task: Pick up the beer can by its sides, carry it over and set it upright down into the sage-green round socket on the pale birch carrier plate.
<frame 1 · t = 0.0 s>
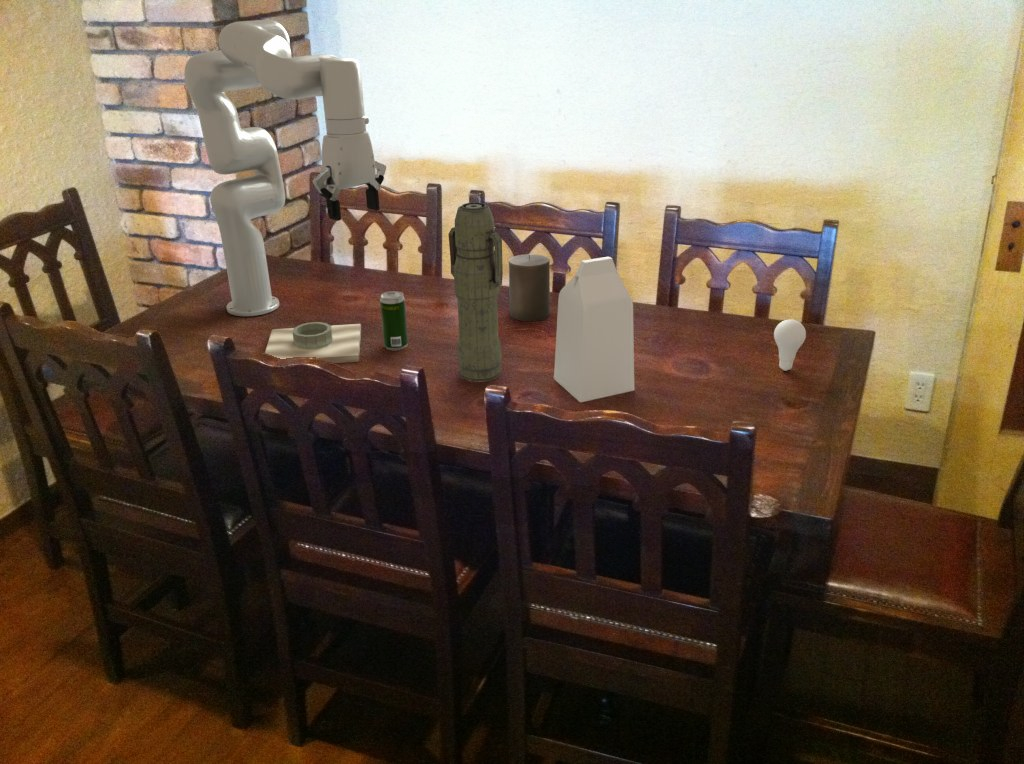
hand: (354, 214, 173), 31 cm above the table, tool pointing down, fingers open, 9 cm apart
pillar candle: (529, 315, 208), on the table
milk: (593, 385, 173), on the table
thermos: (479, 373, 178), on the table
beer can: (396, 347, 192), on the table
carrier plate: (314, 347, 191), on the table
lightbulb: (784, 371, 177), on the table
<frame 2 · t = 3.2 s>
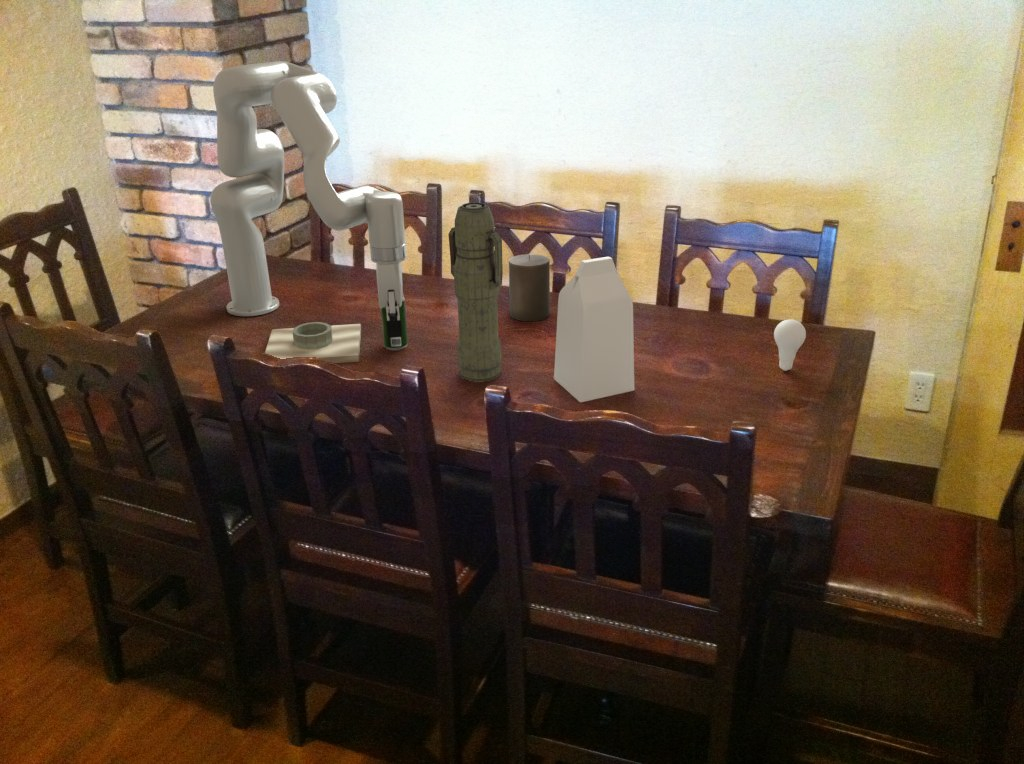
hand: (394, 330, 190), 4 cm above the table, tool pointing down, fingers closed on beer can, 5 cm apart
beer can: (396, 346, 192), on the table, touching gripper
everything else where it was.
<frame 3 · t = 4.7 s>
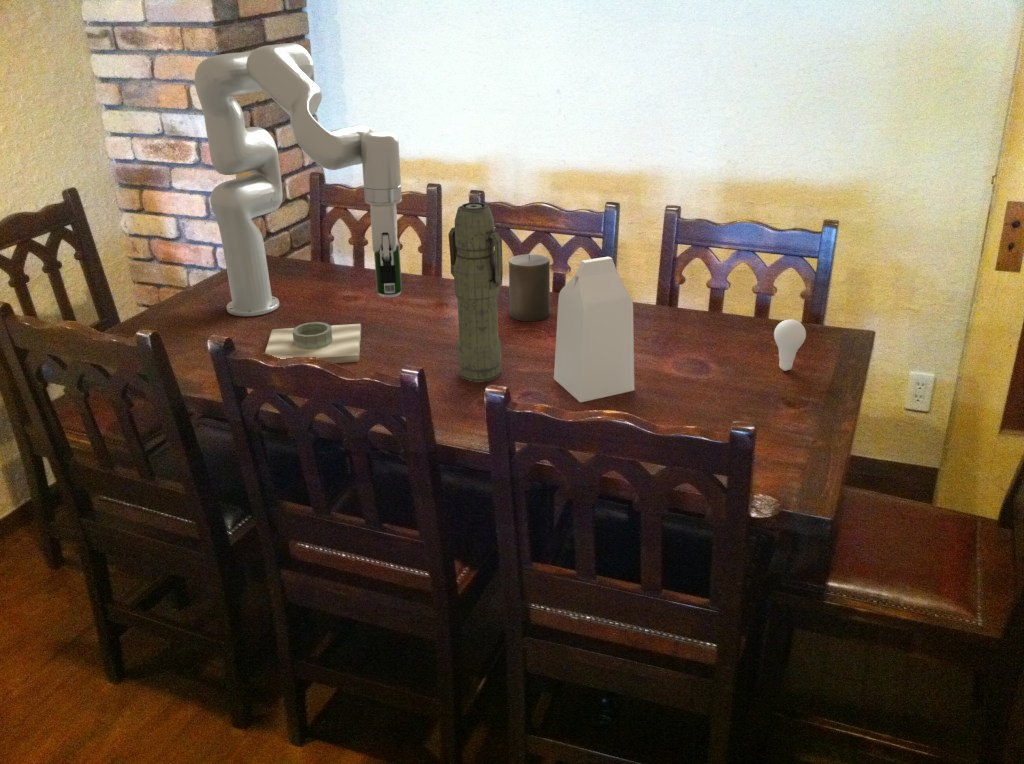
hand: (388, 277, 185), 16 cm above the table, tool pointing down, fingers closed on beer can, 5 cm apart
beer can: (389, 294, 187), point 12 cm above the table, touching gripper
everything else where it was.
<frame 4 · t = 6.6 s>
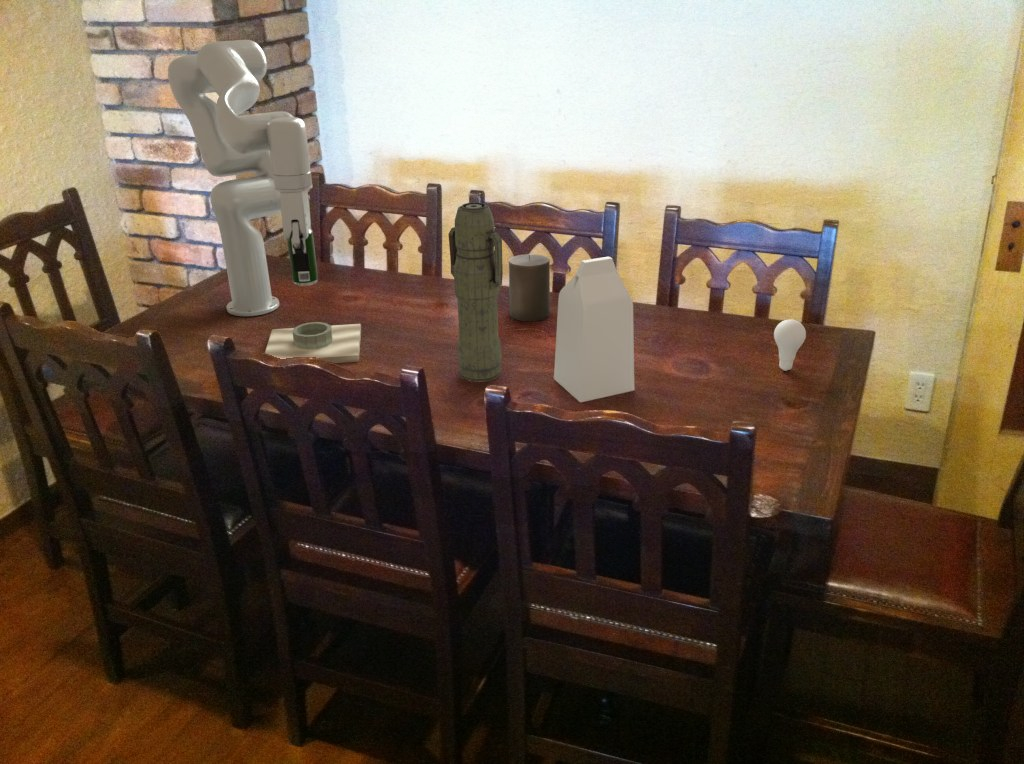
hand: (303, 265, 183), 19 cm above the table, tool pointing down, fingers closed on beer can, 5 cm apart
beer can: (305, 283, 185), point 15 cm above the table, touching gripper
everything else where it was.
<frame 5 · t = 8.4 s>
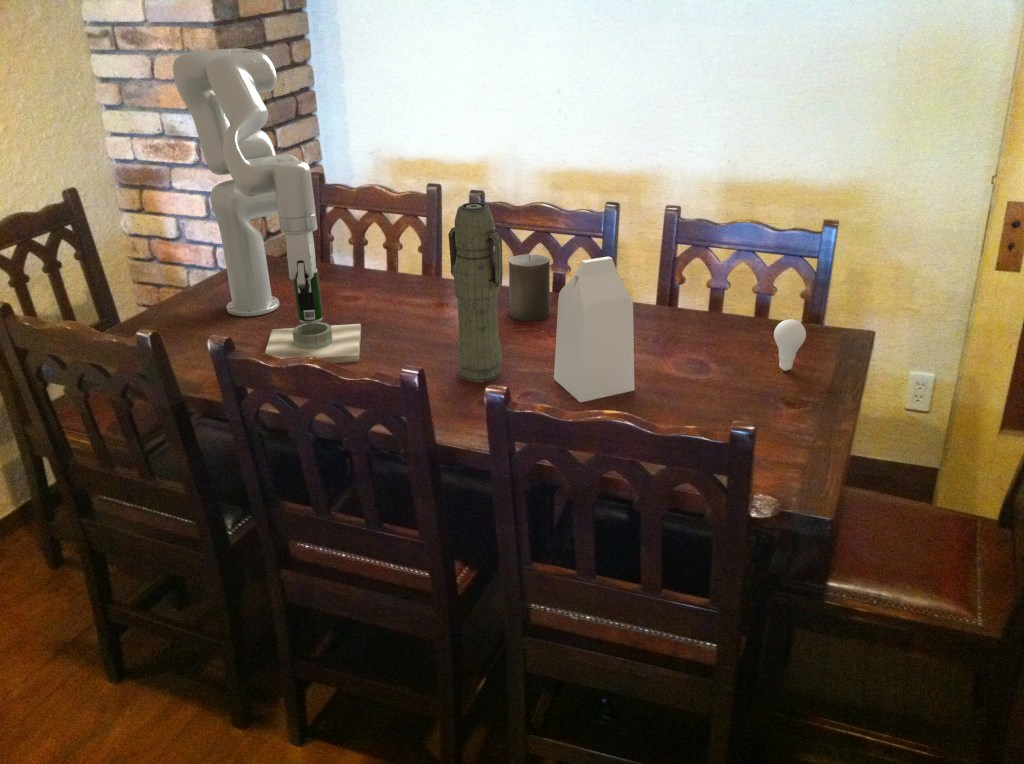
hand: (308, 303, 187), 10 cm above the table, tool pointing down, fingers closed on beer can, 5 cm apart
beer can: (311, 320, 188), point 7 cm above the table, touching gripper
everything else where it was.
when the fingers open (6 cm above the table, at t = 9.9 s): beer can drops 1 cm, resting on carrier plate.
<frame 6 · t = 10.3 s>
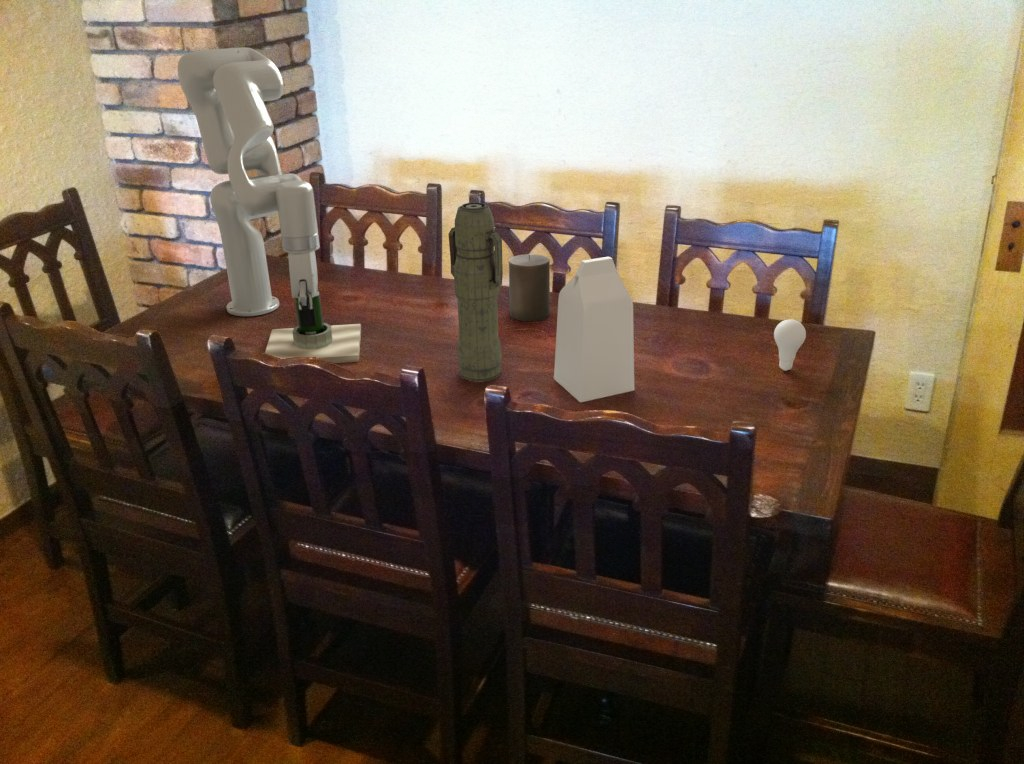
hand: (310, 317, 188), 7 cm above the table, tool pointing down, fingers open, 9 cm apart
beer can: (313, 342, 191), point 1 cm above the table, touching carrier plate
everything else where it was.
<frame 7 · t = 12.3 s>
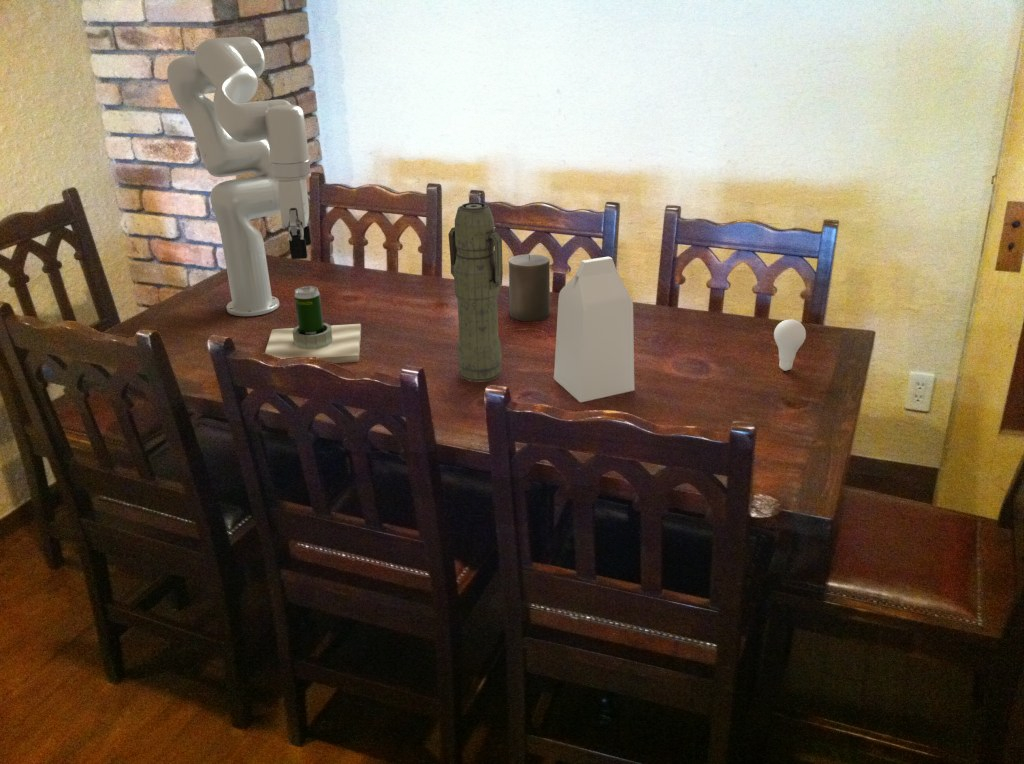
hand: (301, 251, 182), 22 cm above the table, tool pointing down, fingers open, 9 cm apart
nothing on the table moved.
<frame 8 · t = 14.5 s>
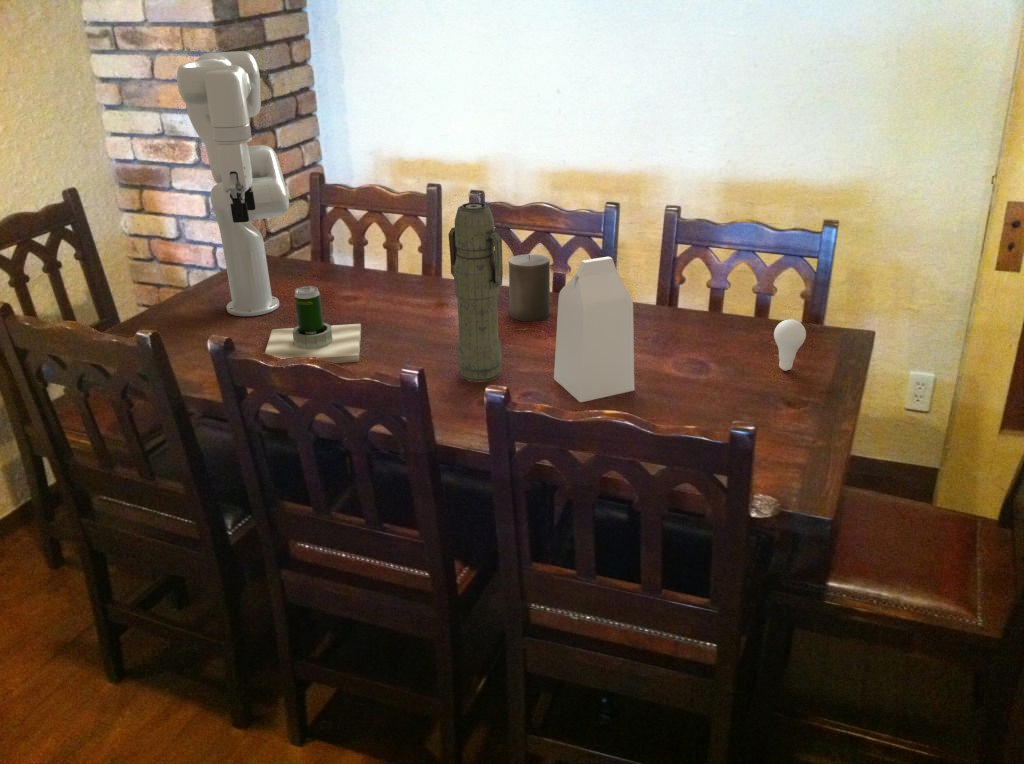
hand: (244, 215, 185), 28 cm above the table, tool pointing down, fingers open, 9 cm apart
nothing on the table moved.
at the end: beer can 0.3 cm off-centre on the carrier plate, point 1.3 cm above the carrier plate's base; beer can tilted 0°; the gripper is holding nothing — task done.
